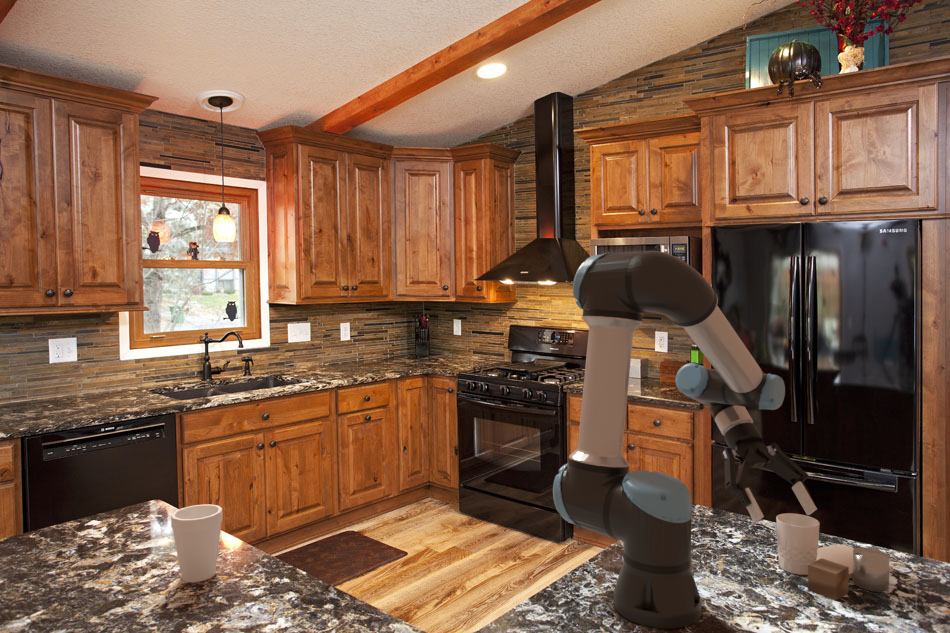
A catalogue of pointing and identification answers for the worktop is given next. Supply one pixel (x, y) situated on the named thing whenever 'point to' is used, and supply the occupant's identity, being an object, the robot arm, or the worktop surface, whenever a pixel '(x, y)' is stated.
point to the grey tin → (871, 569)
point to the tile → (840, 556)
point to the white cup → (797, 542)
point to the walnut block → (828, 579)
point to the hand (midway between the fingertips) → (786, 516)
